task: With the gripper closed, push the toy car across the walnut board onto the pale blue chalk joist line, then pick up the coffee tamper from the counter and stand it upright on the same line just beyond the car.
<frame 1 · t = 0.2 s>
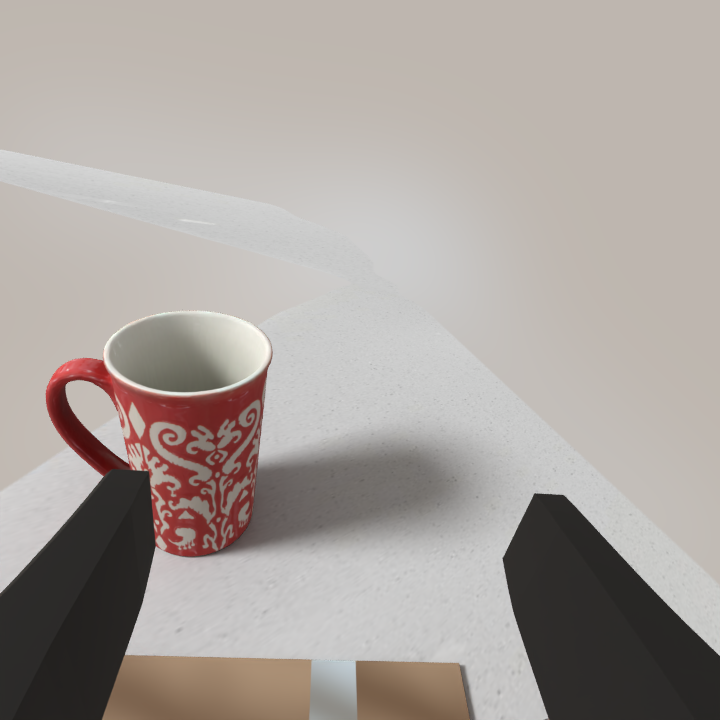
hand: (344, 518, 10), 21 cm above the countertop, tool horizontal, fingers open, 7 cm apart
mug: (174, 513, 36), on the countertop
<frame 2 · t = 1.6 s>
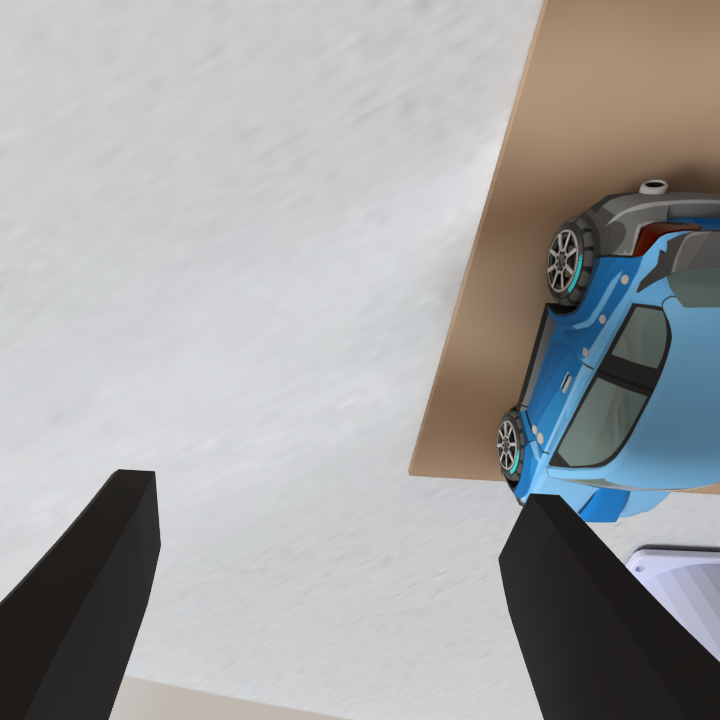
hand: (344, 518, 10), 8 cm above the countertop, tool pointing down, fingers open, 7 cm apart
toy car: (594, 341, 18), resting on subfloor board
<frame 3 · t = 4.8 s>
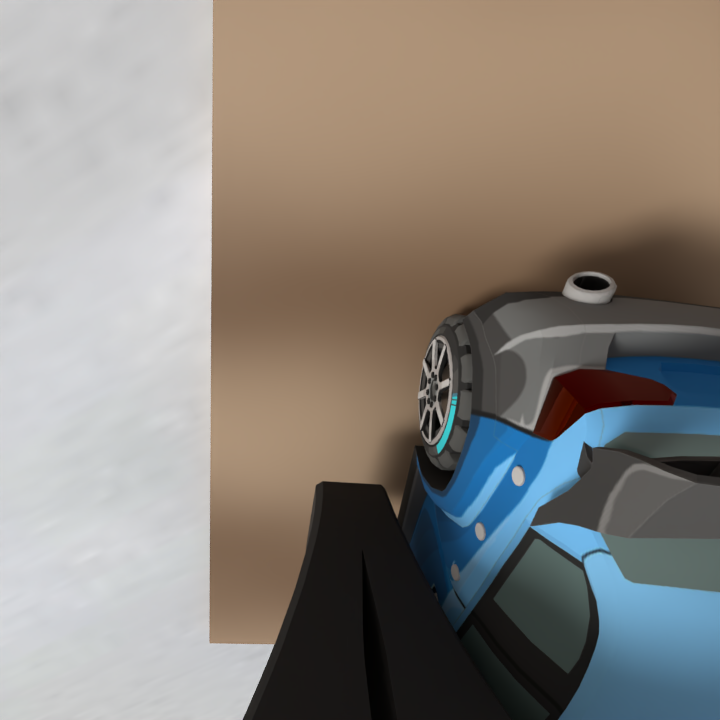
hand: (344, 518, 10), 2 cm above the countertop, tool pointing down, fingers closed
toy car: (508, 483, 12), resting on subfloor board
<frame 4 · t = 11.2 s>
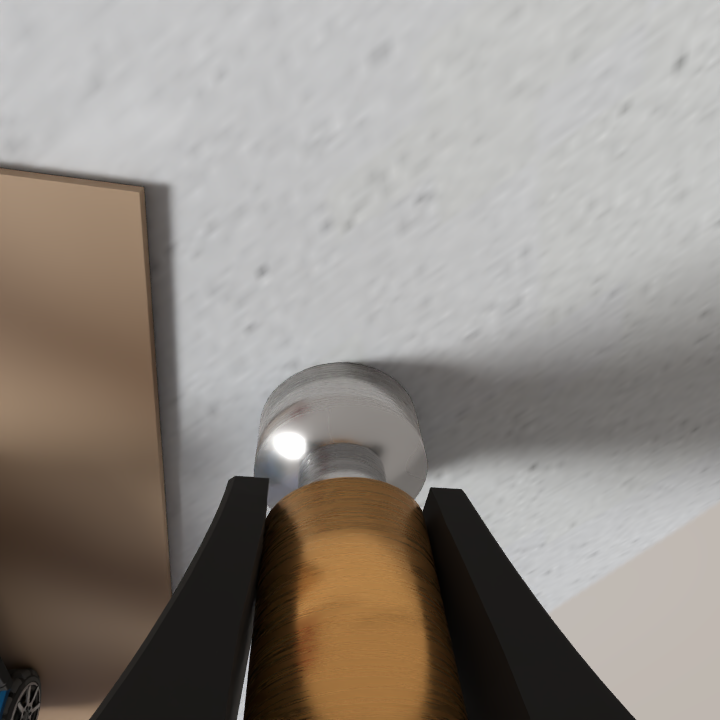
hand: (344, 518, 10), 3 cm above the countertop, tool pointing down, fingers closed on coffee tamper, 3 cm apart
coffee tamper: (339, 427, 12), on the countertop, touching gripper
when the fingers open (4 cm above the countertop, at t = 14.5 s): coffee tamper drops 1 cm, resting on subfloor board.
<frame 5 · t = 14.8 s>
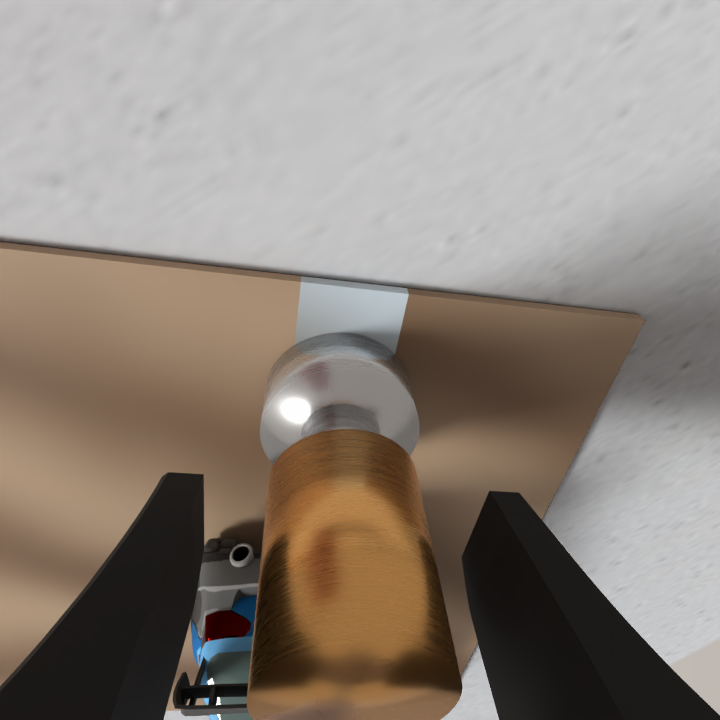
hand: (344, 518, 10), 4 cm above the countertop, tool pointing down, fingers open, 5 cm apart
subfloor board: (149, 552, 16), on the countertop
coffee tamper: (338, 394, 13), resting on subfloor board
toy car: (301, 603, 18), resting on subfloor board
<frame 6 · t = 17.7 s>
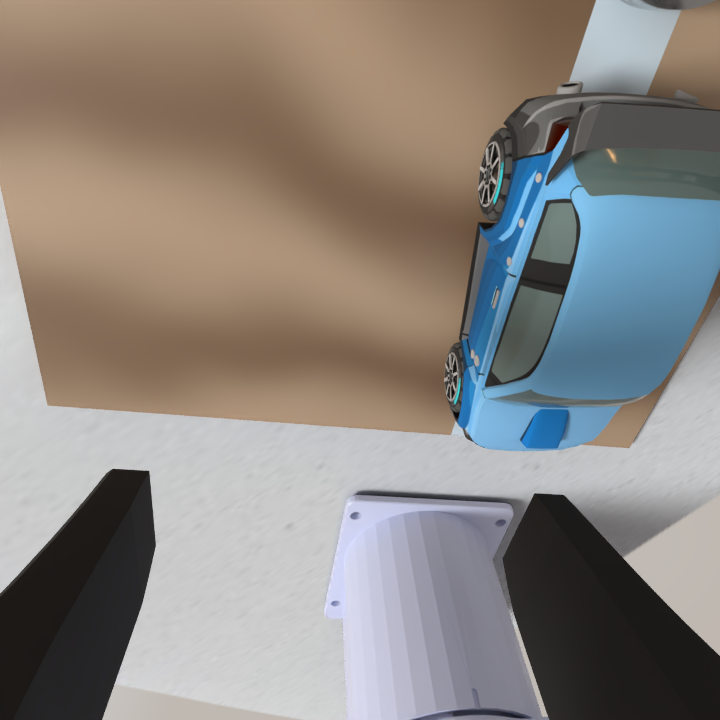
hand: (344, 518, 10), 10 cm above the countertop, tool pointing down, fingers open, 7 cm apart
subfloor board: (411, 179, 16), on the countertop
toy car: (536, 270, 18), resting on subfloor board
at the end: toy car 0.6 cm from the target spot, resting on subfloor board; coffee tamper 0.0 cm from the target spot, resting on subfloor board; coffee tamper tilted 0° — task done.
